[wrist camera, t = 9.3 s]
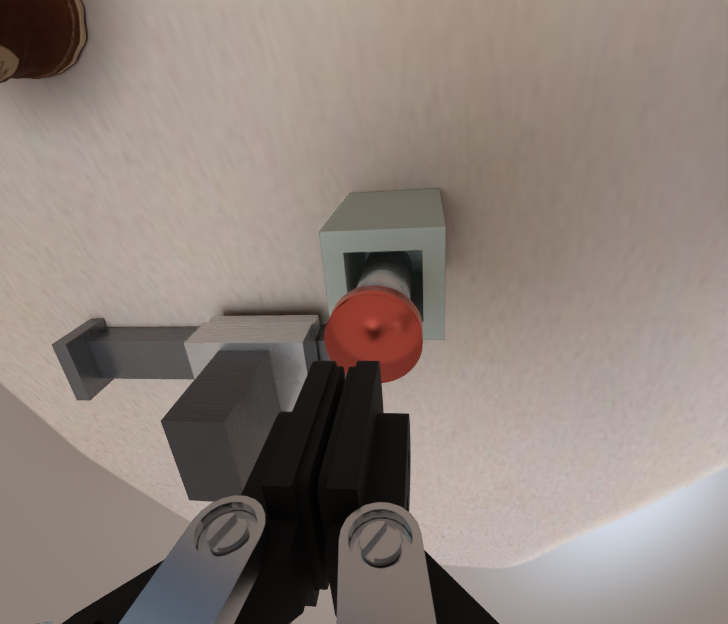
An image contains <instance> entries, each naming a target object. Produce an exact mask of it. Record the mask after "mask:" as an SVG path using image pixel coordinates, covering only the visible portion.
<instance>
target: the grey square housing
mask: <svg viewBox="0 0 728 624" xmlns="http://www.w3.org/2000/svg"><path fill="white" fill-rule="evenodd" d="M319 237H320V246H321V254H322V262H323V270H324V278H325V286H326V294H327V302H328V310H329V318H330V316H331V313H332V311H333V309H334V307H335V305H336V303H337V302H338V301H339V300H340V298H342V297H343V296H344V295H345V294H346V293H348V292H349V291H351V290H353V289H355V288H357V285H358V282H359V279H360V277H361V274H362V271H363V268H364V266H365V263H366V260H367V258H368V256H369V254H370V253H371V252H377V251H406V252H407V254H408V255H409V257H410V258H411V261H412V280H411V294H410V300H411V301H412V302H413V303H414V305H415V306H416V308H417V309H418V311H419V313H420V316H421V319H422V325H423V340H445V253H446V225H445V219H444V213H443V207H442V201H441V195H440V189H439V188H435V189H416V190H398V191H379V192H360V193H350V194H349V195H348V196H347V197H346V199H345V200H344V201H343V202H342V204H341V205H340V206H339V207H338V209H337V210H336V211H335V212H334V214H333V215H332V216H331V217H330V219H329V220H328V221H327V222H326V224H325V225H324V226H323V227H322V229H321V230H320V231H319Z"/></svg>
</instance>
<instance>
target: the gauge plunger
mask: <svg viewBox="0 0 728 624" xmlns="http://www.w3.org/2000/svg"><path fill="white" fill-rule="evenodd" d="M411 280H412V261H411V258H410V257H409V255H408V254H407V252H406V251H377V252H371V253H370V254H369V256H368V258H367V260H366V263H365V266H364V268H363V271H362V274H361V277H360V279H359V282H358V285H357V288H355V289H353V290H351V291H349V292H348V293H346V294H345V295H344V296H343V297H342V298H340V300H339V301H338V302H337V303H336V305H335V307H334V309H333V311H332V313H331V316H330V318H329V320H328V323H327V325H326V328H325V334H324V341H325V347H326V350H327V353H328V355H329V357H330V359H331V360H332V361H336V363H337V366H343V367H344V370H345V374H346V375H347V372H348V368H349V367H350V366H356V363H357V361H379V362H380V370H381V383H385V382H390V381H394V380H396V379H399V378H400V377H402V376H404V375H405V374H407V373H408V372H409V371H410V370H411V369H412V368H413V367H414V366H415V365H416V363H417V362H418V360H419V358H420V355H421V352H422V344H423V325H422V319H421V316H420V313H419V311H418V309H417V308H416V306H415V305H414V303H413V302H412V301H411V300H410V294H411Z"/></svg>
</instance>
